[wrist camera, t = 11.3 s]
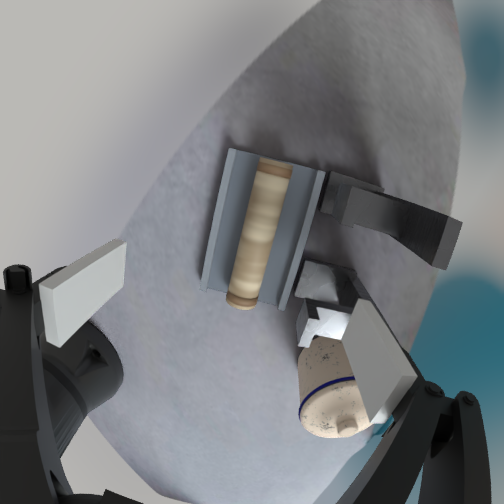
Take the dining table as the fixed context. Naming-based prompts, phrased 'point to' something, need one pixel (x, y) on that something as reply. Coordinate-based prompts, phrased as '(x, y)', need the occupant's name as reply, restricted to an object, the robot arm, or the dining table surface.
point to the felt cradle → (287, 233)
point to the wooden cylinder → (258, 232)
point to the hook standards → (345, 280)
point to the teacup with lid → (329, 391)
